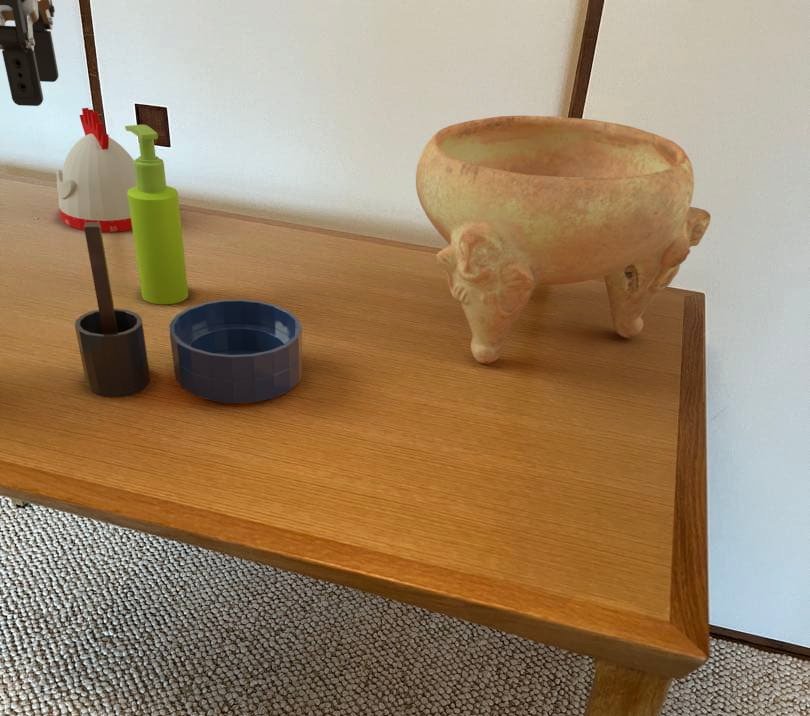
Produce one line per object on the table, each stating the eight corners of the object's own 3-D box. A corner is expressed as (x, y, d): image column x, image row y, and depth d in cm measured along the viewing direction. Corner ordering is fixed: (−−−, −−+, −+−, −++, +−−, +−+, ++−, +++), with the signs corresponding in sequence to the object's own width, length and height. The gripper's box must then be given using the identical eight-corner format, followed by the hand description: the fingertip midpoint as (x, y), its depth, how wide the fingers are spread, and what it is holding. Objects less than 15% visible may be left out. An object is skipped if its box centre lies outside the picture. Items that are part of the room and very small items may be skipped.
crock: (85, 398, 86) (72, 337, 81) (88, 368, 91) (77, 309, 86) (150, 395, 87) (141, 334, 83) (150, 365, 92) (141, 307, 88)
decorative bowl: (589, 266, 126) (625, 101, 111) (709, 376, 100) (777, 180, 85) (374, 273, 117) (383, 96, 103) (445, 395, 92) (470, 182, 77)
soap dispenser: (173, 280, 111) (155, 119, 98) (195, 299, 106) (179, 133, 94) (131, 288, 108) (107, 123, 95) (153, 308, 104) (130, 138, 91)
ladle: (98, 387, 87) (68, 232, 76) (99, 369, 90) (71, 217, 79) (137, 385, 88) (113, 231, 77) (137, 368, 91) (114, 217, 80)
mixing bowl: (177, 411, 85) (170, 359, 81) (174, 349, 95) (168, 301, 92) (310, 404, 88) (309, 353, 84) (293, 344, 99) (292, 297, 95)
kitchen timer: (132, 197, 135) (118, 96, 125) (169, 223, 127) (157, 117, 117) (47, 209, 128) (26, 103, 118) (81, 237, 120) (61, 126, 110)
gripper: (-47, -170, 62) (5, 72, 72) (-101, -173, 51) (-31, 111, 61) (58, -160, 63) (94, 76, 73) (26, -161, 52) (74, 115, 63)
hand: (37, 92), depth 67 cm, fingers open, 8 cm apart
